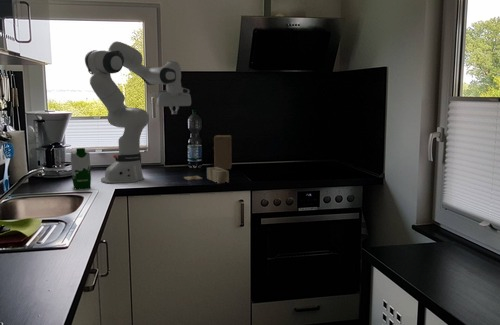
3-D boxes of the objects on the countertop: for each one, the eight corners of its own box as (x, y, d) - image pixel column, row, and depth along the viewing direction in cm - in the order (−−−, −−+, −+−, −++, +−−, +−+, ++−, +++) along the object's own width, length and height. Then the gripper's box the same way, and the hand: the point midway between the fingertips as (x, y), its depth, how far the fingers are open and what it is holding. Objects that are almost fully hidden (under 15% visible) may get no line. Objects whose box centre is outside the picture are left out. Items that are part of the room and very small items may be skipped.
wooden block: (230, 169, 298) (230, 136, 295) (214, 169, 298) (213, 136, 295) (231, 166, 308) (231, 135, 305) (215, 166, 308) (215, 135, 305)
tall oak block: (206, 178, 269) (218, 183, 256) (206, 167, 268) (218, 172, 255) (216, 177, 272) (228, 182, 258) (216, 166, 271) (228, 171, 257)
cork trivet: (188, 180, 263) (188, 179, 263) (183, 178, 270) (183, 176, 270) (202, 179, 267) (202, 178, 267) (197, 176, 274) (197, 175, 274)
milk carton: (74, 190, 239) (72, 149, 236) (71, 186, 247) (69, 147, 244) (92, 188, 243) (90, 148, 240) (89, 185, 251) (87, 146, 248)
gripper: (157, 90, 276) (158, 114, 278) (192, 90, 285) (192, 113, 288) (154, 90, 282) (155, 114, 284) (188, 90, 291) (188, 113, 293)
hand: (174, 114), depth 286 cm, fingers closed
